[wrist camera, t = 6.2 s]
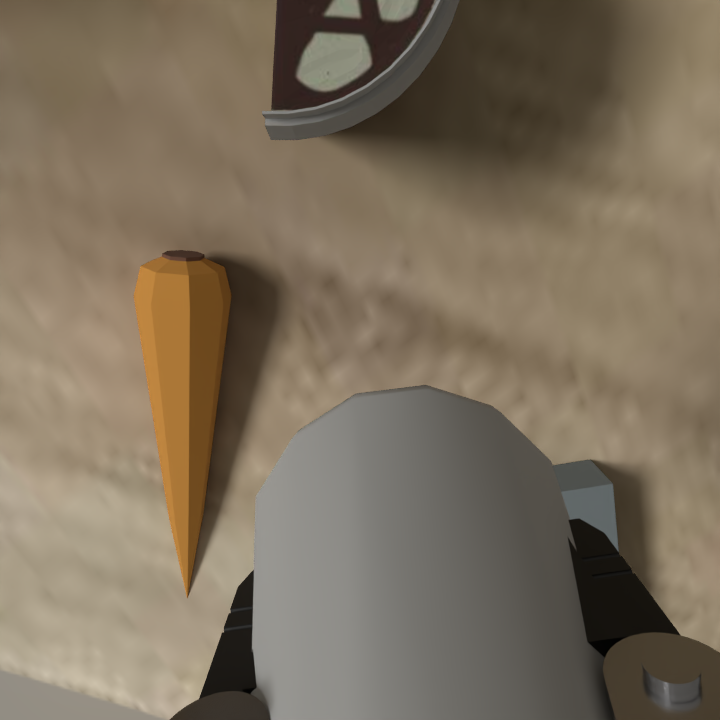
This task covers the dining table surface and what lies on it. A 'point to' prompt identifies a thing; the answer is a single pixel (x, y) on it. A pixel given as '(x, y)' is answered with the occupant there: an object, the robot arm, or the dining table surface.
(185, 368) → the carrot
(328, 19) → the food container
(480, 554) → the salt shaker
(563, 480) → the base plinth
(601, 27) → the dining table surface
